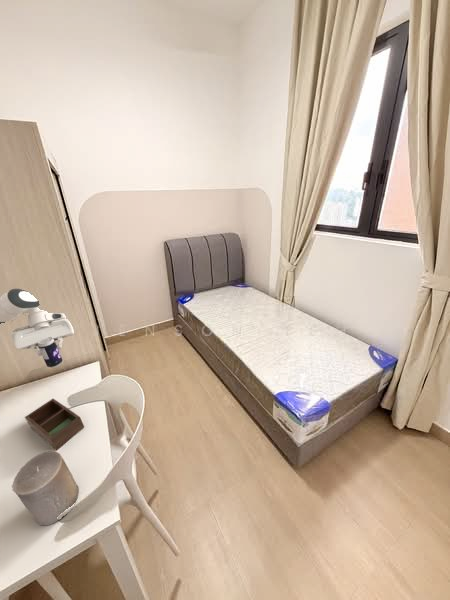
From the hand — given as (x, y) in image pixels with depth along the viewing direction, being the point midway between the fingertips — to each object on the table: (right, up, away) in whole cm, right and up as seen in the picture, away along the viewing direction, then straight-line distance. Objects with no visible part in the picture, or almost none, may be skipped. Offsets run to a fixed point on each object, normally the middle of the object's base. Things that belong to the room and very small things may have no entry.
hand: (50, 352), depth 97 cm
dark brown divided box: (+14, -23, -15) cm, 30 cm away
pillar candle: (+28, -32, -35) cm, 55 cm away
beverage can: (0, -6, +3) cm, 7 cm away
